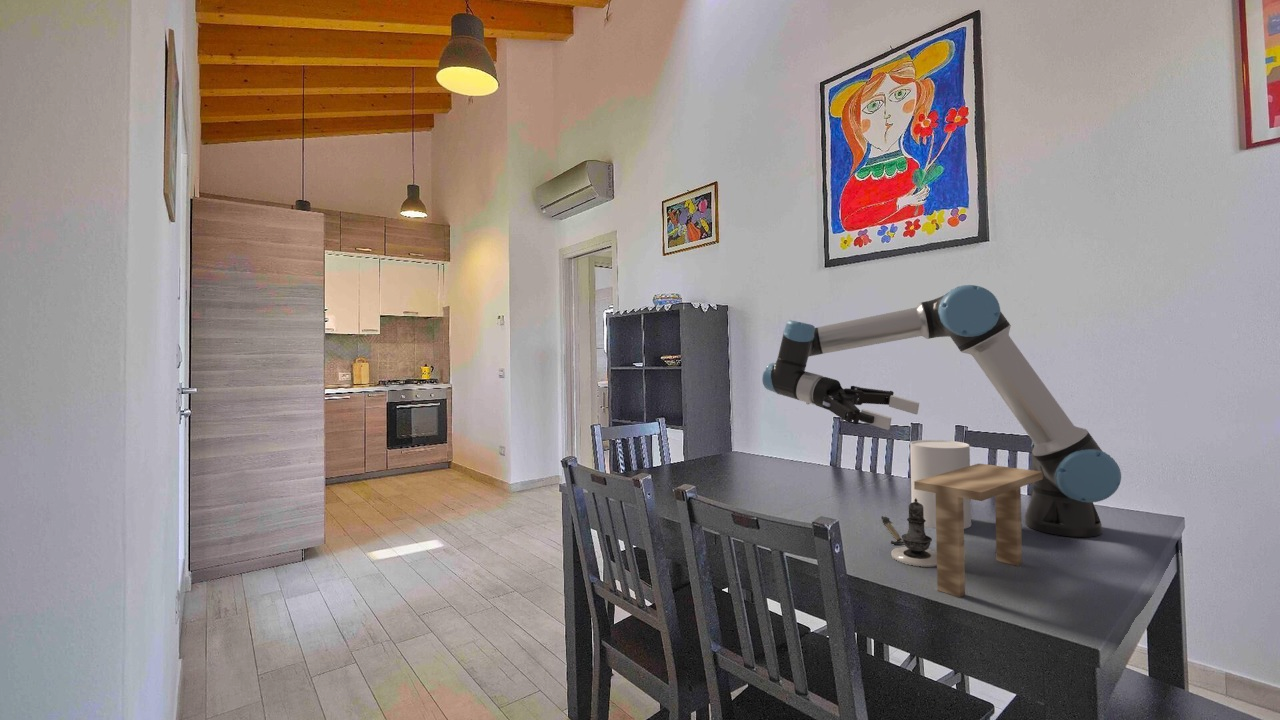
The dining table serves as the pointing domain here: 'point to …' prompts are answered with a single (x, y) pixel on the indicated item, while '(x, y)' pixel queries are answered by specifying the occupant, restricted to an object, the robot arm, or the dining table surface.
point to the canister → (937, 472)
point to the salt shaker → (916, 533)
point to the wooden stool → (950, 515)
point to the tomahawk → (892, 531)
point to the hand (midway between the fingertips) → (904, 416)
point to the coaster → (900, 556)
